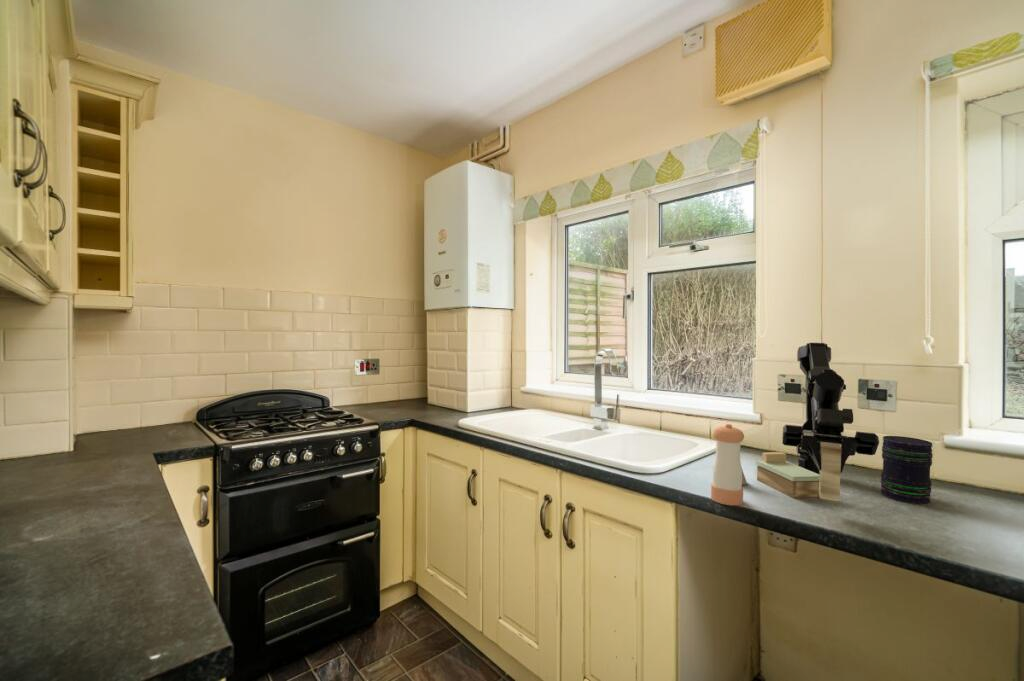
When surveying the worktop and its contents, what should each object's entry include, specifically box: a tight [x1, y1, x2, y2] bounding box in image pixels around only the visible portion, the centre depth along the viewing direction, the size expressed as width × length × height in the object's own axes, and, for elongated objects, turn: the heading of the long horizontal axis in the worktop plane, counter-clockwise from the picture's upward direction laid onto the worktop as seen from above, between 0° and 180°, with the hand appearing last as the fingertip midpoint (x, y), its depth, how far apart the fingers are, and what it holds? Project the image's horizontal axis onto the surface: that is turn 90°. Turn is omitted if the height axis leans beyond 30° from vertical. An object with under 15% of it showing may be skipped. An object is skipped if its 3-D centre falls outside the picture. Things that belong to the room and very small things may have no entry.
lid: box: [755, 451, 819, 482], centre depth 123 cm, size 8×14×4 cm, turn 7°
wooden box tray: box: [756, 465, 820, 499], centre depth 123 cm, size 8×14×4 cm, turn 7°
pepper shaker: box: [710, 423, 745, 506], centre depth 113 cm, size 7×7×19 cm
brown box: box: [819, 442, 842, 502], centre depth 106 cm, size 4×4×12 cm
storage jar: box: [880, 435, 933, 506], centre depth 117 cm, size 10×10×15 cm
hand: (830, 470), depth 104 cm, fingers closed on brown box, 4 cm apart
